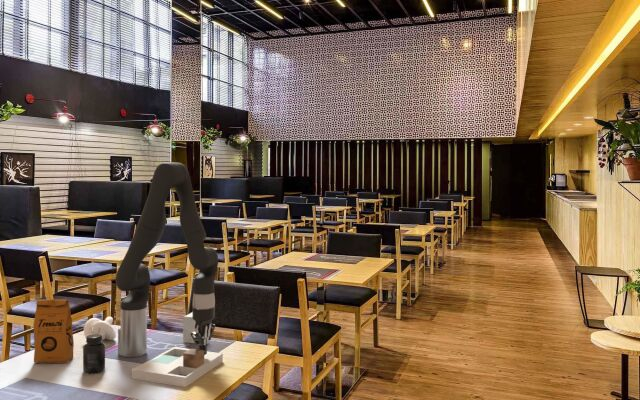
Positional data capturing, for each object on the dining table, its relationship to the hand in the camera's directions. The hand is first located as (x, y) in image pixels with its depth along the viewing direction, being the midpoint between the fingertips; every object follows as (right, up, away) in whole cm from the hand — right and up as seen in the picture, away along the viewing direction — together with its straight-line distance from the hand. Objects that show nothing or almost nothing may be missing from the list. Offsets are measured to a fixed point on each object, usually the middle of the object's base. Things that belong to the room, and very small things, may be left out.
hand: (203, 354), depth 176 cm
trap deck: (-7, -4, -3) cm, 9 cm away
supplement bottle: (-35, -4, -6) cm, 36 cm away
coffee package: (-54, -3, +3) cm, 54 cm away
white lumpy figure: (-46, -3, +26) cm, 53 cm away
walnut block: (-2, -1, -7) cm, 7 cm away
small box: (-11, -3, +29) cm, 31 cm away
